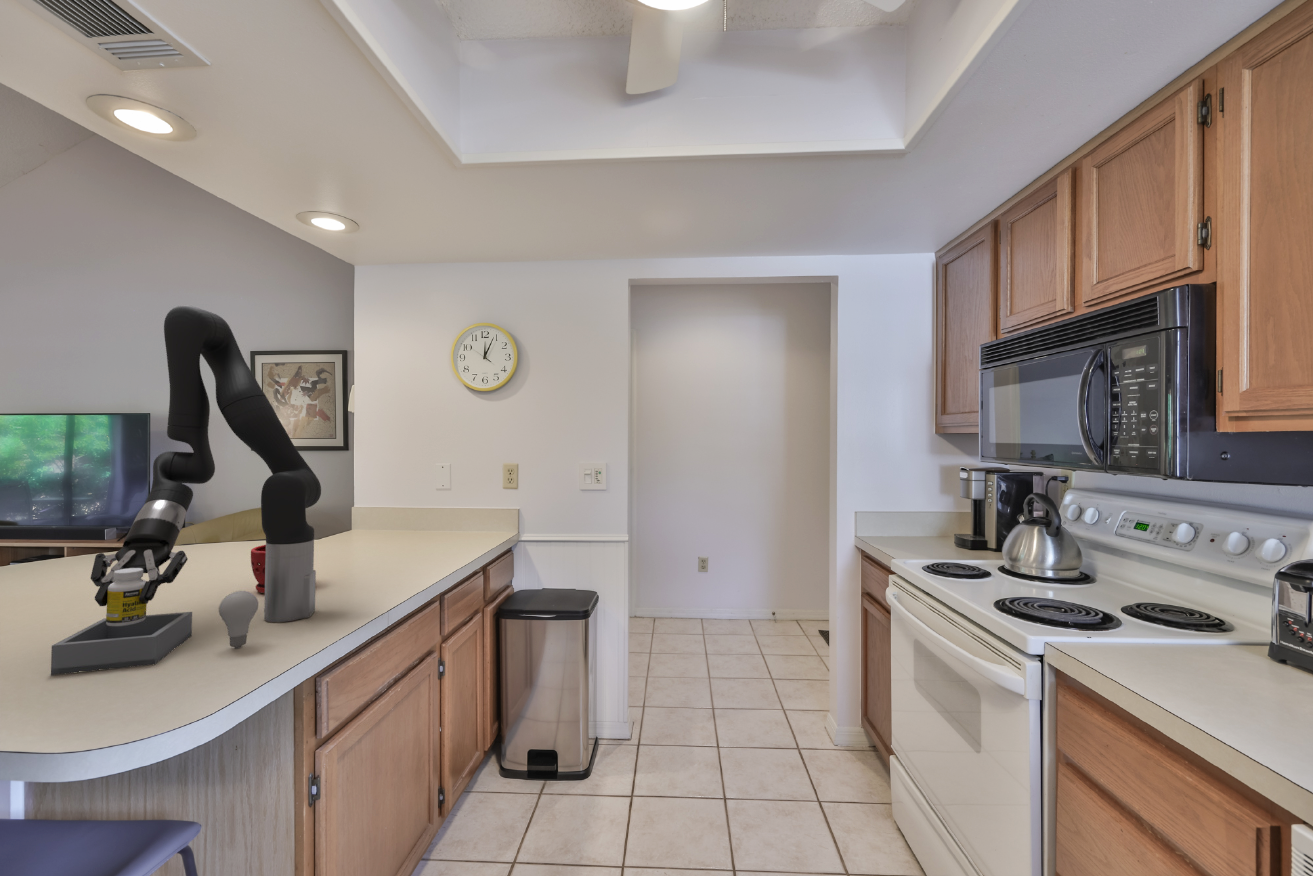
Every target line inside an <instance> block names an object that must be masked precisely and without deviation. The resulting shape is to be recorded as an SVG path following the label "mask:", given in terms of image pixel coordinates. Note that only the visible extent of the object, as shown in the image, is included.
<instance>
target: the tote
mask: <svg viewBox="0 0 1313 876" xmlns="http://www.w3.org/2000/svg"><path fill="white" fill-rule="evenodd" d="M192 628H193V611H184V612H172V613H171V612H170V613H160V614H157V613H156V614H146V618H145V620H144V621H142V622H139V623H136V624H132V625H127V626H108V625H107V624H106V617H105V618H102V619H100V620H98V621H96V622H94V623H93V624H91V625H88V626H87V627H85V628H82V629H81V630H78V631H77V632H75V633H73V634H71V635H69V636H68V637H65V638H64V639H62V640H60V641H58V642H56V643H54V644H52V645H51V654H50V655H51V656H50V657H51V658H50V659H51V660H50V661H51V662H50V675H51V676H56V675H57V676H58V675H66V674H67V675H68V674H75V673H74V672H77V673H80V672H79V671H86V672H93V671H92V670H96V671H100V670H99V669H106V670H110V669H109V668H115V669H123V667H124V668H132V666H135V667H142V666H143V667H144V666H151V665H152V666H153V664H154V665H156V664H157V663H159V662H160V661H161V660H162V658H165V657H166V656H168V655H169V654H170V653H172V652H173V651H174V650H175V649H174V648H176V647H177V646H178V647H180V646H181V645H182V644H183V643H185V642H186V641H187V640H189V639H190V638H191V637H192V634H193V632H192V631H193V629H192ZM188 638H189V639H188ZM184 641H185V642H184ZM180 644H181V645H180ZM178 647H177V648H178ZM177 648H176V649H177ZM172 650H173V651H172ZM171 651H172V652H171ZM169 652H170V653H169ZM167 654H168V655H167ZM159 660H160V661H159ZM158 661H159V662H158ZM130 666H131V667H130ZM65 673H66V674H65Z"/></svg>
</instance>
